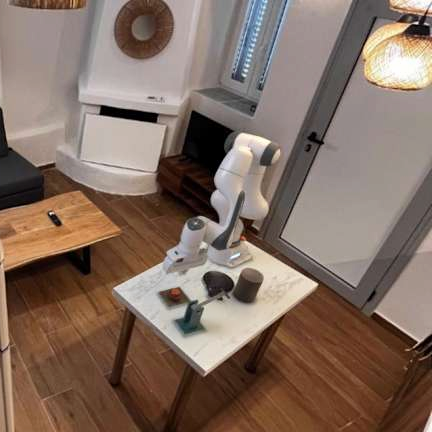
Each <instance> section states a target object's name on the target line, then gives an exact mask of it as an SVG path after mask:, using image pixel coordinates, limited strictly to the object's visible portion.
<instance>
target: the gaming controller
mask: <svg viewBox="0 0 432 432" xmlns="http://www.w3.org/2000/svg"><path fill="white" fill-rule="evenodd" d="M206 287H207V291H208V296H209V297H210V298H212V297H214V296H216V295H218V294H220V288H222V286H221V285H219V284H217V283H210V284H208V285H207V286H206ZM216 301H221V302H222V301H224V298H223V296H222V297H220V298H218V299H216Z"/></svg>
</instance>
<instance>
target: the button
mask: <svg viewBox="0 0 432 432" xmlns="http://www.w3.org/2000/svg"><path fill="white" fill-rule="evenodd" d="M171 289H172V288H171ZM179 293H180V291H179V290H178V289H172V291H171V295H172V296H174V297H178V296H179Z"/></svg>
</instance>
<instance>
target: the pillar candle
mask: <svg viewBox="0 0 432 432" xmlns="http://www.w3.org/2000/svg"><path fill="white" fill-rule="evenodd" d="M264 280H265V276H264V274H263V272H260V271H259V270H258V269H255V268H253V267H245V268H242V270H241V272H240V274H239V276H238V279H237V281H236V283H235V286H234V288H233V290H232V294H233V296H234V298H235V299H236V300H237V301H239V302H241V303H243V304H252V303H254V301H255V300H256V297H257V296H258V293H259V291H260V289H261V287H262V284H263V282H264Z"/></svg>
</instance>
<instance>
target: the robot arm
mask: <svg viewBox="0 0 432 432" xmlns="http://www.w3.org/2000/svg"><path fill="white" fill-rule="evenodd" d="M223 147H224V152H225V153H226V155H225V156H224V158H223V160H222V161H221V163H220V165H219V167H218V169H217V171H216V172H215V175H214V178H213V182H214V185H215V188H216V189H215V190H214V191H213V192H212V194H211V197H210V204H211V206H212V208H213V209H214V210H215V211H216V213H217V215H218V219H219V222H218V223H217V222H215V221H213V220H212V219H210V218H208V217H206V216H202V215H196V216H194V217H191V218H189V219H188V220H186V222H185V224H184V226H183V228H182V231H181V234H180V241H179V242H178V244H177V245H176V246H174V247H172V248H170V249H168V250H167V251H166V256H165V257H164V259H163V263H162V270H163V272H164V274H167V275H169V274H173V273H177V275H178V276H179V277H182V276H186V275H187V272H188V271H189V270H190V269H193V268H197V267H198V268H199V267H202V266H204V265H205V264H206V263H207V259H209V260H210V261H212V262H214V263H216V264H218V265H222V266H226V267H228V268H231V269H233V268H235V267H237V266H239V265H241V264H243V263H245V262H248V261H250V260H251V259H252V256H251V253H250V252H249V248H248V246H247V244H246V243H245V242H246V241H247V239H246V237H245V236H242V233H243V230H244V223H243V222H242V219H240V217H241V218H244V219H248V220H254V221H261V220H263V219H265V218H266V217H267V215H268V213H269V211H270V206H269V203H268V202H267V200H266V199H265V198H264V196H263V195H262V192H261V184H262V181H263V177H264V174H265V171H266V169H267V168H268V167H272V166H273V165H275V163H276V162H278V160H279V158H280V156H281V151H282V148H281V146H280V144H278V143H277V142H275V141H271V140H269V139H267V138H265V137H263V136H259V135H254V134H251V133H246V132H243V131H237V130H236V131H233V132H231V133H230V134H229V135H228V136H227V138H226V140H225V141H224V145H223ZM203 243H205V244H207V245H208V248H206V247H202V248H201V245H202V244H203Z"/></svg>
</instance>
